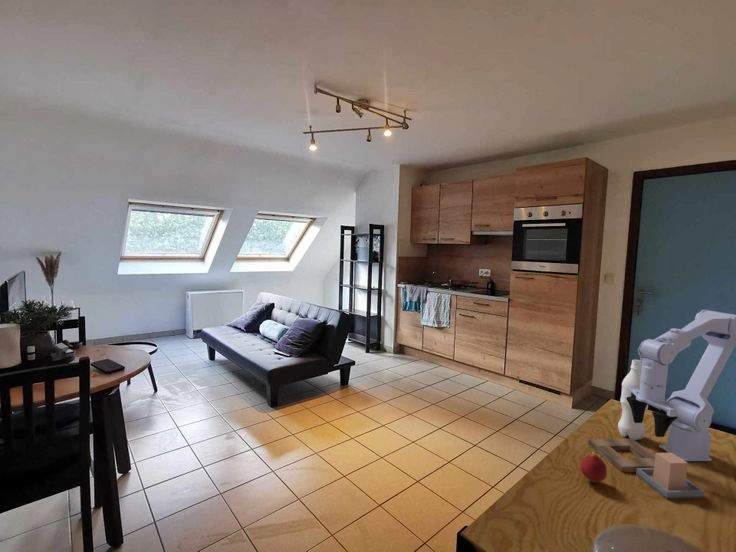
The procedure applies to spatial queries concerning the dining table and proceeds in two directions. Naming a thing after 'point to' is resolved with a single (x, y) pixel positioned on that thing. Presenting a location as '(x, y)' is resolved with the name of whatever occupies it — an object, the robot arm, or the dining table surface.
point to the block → (670, 471)
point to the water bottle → (626, 421)
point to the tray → (687, 493)
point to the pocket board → (623, 464)
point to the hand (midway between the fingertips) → (648, 429)
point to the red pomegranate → (593, 468)
